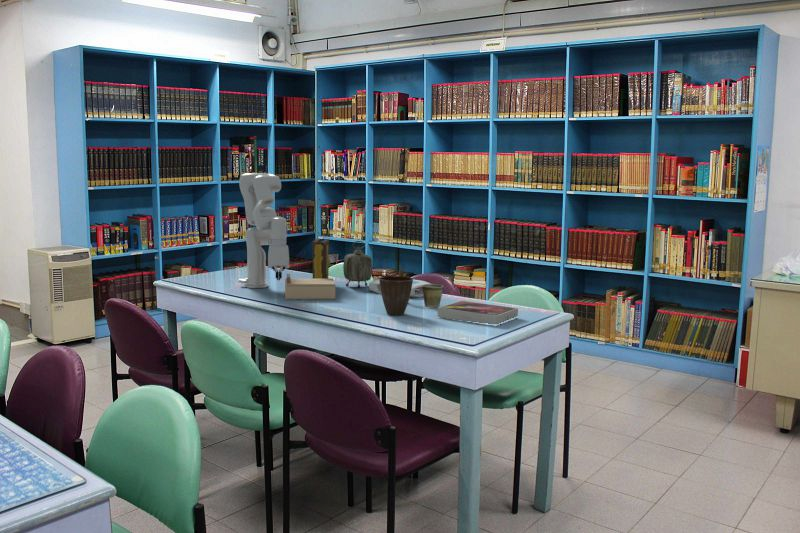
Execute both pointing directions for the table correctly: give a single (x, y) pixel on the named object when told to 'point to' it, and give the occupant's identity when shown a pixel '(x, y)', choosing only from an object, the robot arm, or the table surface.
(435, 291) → the ceramic cup
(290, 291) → the box
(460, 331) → the table surface
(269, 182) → the robot arm
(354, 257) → the grey rounded piece
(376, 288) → the document scanner
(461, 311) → the product packaging
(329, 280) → the mailer lid
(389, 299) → the plant pot
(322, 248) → the book
